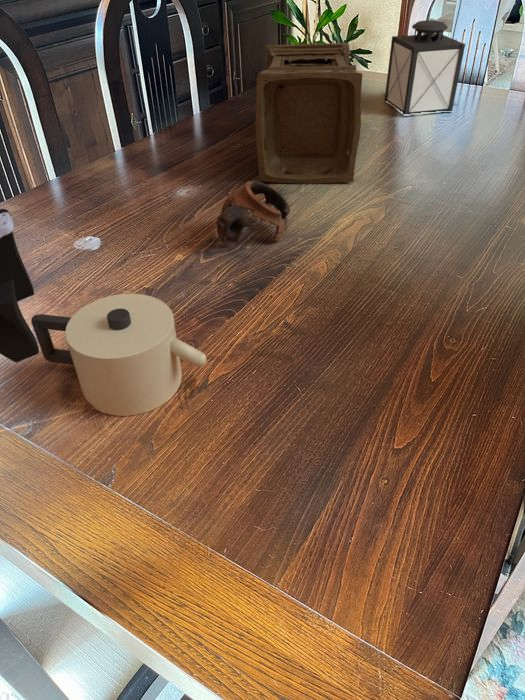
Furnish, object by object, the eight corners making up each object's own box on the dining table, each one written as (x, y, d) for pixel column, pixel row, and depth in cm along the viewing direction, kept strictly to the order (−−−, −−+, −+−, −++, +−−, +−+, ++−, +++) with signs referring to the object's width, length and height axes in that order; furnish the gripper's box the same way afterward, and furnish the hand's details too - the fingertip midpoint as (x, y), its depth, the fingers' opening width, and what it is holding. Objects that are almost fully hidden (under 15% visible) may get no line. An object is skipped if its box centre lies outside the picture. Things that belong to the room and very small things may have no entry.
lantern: (452, 113, 119) (484, -47, 101) (404, 117, 118) (427, -44, 99) (428, 98, 128) (454, -52, 110) (383, 102, 126) (402, -50, 108)
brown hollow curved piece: (231, 216, 85) (258, 171, 80) (277, 256, 84) (307, 212, 79) (187, 231, 75) (214, 180, 70) (238, 276, 74) (269, 227, 69)
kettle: (222, 358, 57) (216, 293, 52) (195, 427, 50) (185, 359, 44) (71, 339, 59) (51, 276, 54) (25, 402, 52) (-3, 336, 47)
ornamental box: (269, 129, 121) (256, 34, 110) (351, 118, 118) (346, 19, 107) (260, 193, 94) (241, 75, 82) (366, 181, 91) (362, 58, 80)
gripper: (-32, 218, 32) (79, 365, 42) (-26, 120, 41) (62, 258, 51) (-151, 265, 31) (-10, 402, 41) (-117, 155, 41) (-10, 287, 51)
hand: (25, 324), depth 46 cm, fingers open, 7 cm apart
